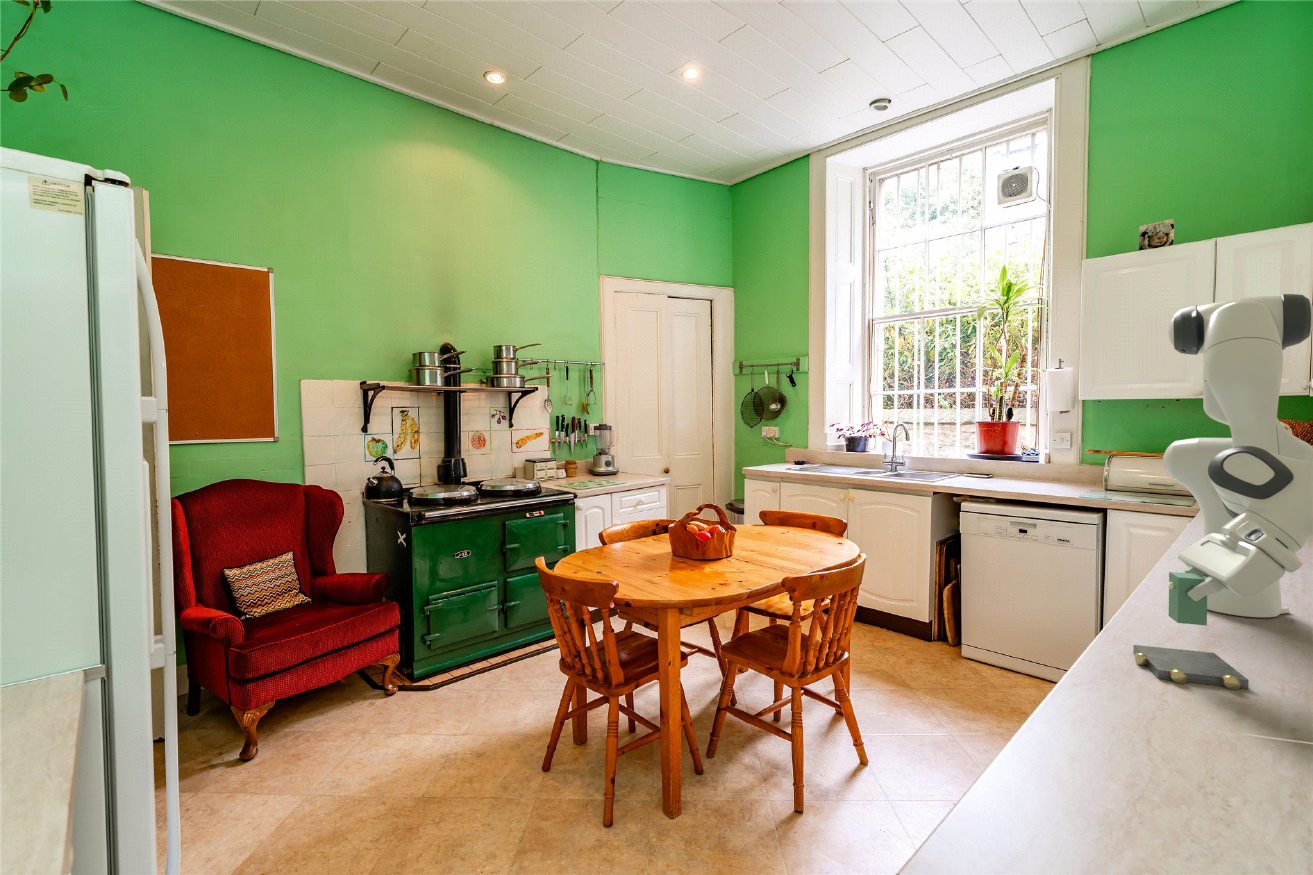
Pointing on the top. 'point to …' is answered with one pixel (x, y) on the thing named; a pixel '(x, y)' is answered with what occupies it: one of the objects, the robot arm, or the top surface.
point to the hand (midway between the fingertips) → (1182, 592)
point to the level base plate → (1189, 666)
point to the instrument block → (1186, 599)
